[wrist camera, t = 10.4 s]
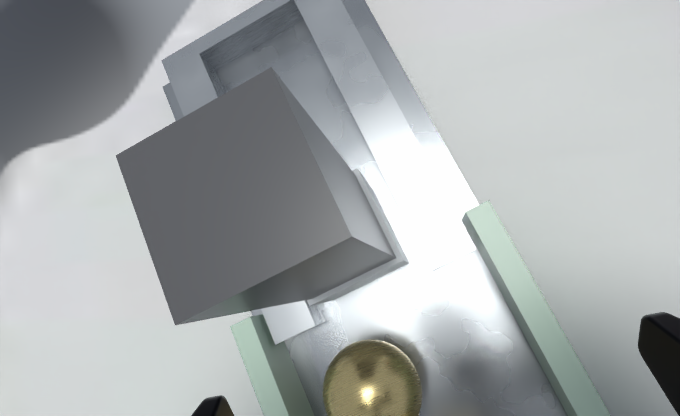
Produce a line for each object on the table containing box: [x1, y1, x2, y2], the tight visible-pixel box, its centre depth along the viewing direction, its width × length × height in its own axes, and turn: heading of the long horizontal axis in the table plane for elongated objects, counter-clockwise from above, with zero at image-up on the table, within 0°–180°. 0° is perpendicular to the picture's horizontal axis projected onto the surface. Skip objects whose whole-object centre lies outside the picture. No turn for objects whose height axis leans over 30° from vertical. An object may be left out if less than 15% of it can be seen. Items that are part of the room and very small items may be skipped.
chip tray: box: [230, 200, 611, 416], centre depth 17 cm, size 13×12×3 cm
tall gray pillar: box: [116, 67, 409, 325], centre depth 14 cm, size 4×4×13 cm
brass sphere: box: [323, 339, 422, 416], centre depth 17 cm, size 4×4×4 cm
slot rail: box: [162, 0, 568, 416], centre depth 20 cm, size 27×12×2 cm, turn 25°
